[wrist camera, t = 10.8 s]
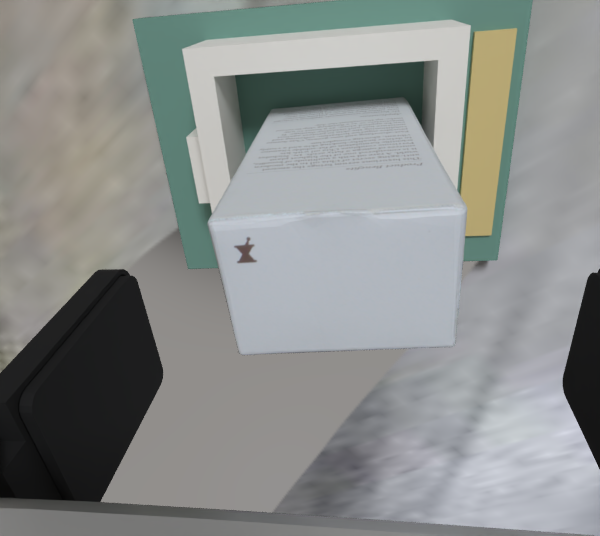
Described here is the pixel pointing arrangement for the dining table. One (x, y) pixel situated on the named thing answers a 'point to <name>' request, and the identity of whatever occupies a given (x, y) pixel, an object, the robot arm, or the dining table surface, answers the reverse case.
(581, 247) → the dining table surface
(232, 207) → the skincare box
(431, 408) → the dining table surface
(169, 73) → the board
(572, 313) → the dining table surface
